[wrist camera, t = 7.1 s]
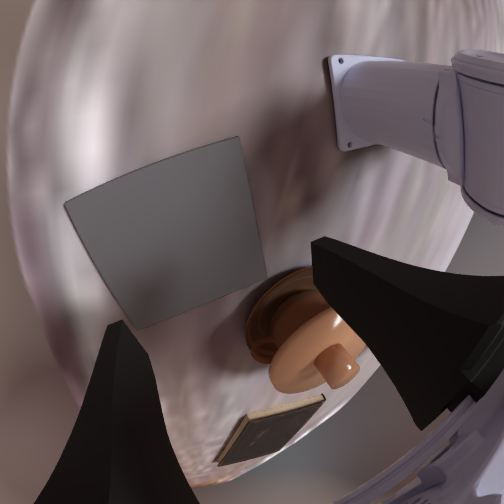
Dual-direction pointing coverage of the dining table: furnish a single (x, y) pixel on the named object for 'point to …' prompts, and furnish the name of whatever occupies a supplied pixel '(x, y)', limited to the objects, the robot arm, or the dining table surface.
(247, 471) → the dining table surface
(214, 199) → the coaster
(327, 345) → the lid
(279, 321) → the cup and saucer
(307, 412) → the hardcover book
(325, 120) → the dining table surface
